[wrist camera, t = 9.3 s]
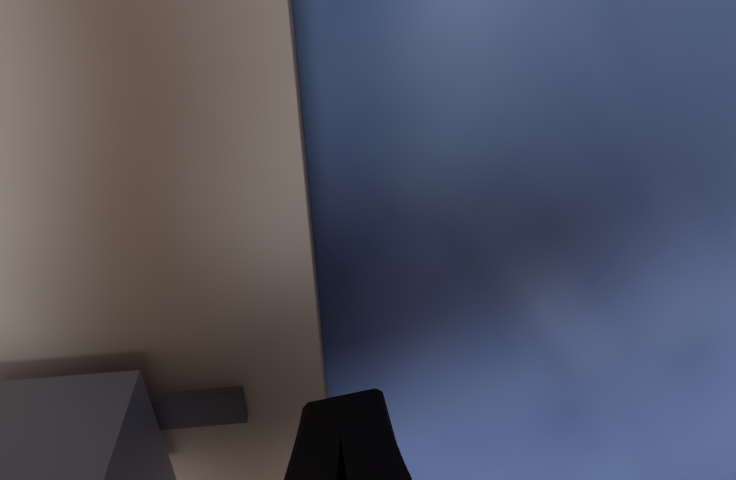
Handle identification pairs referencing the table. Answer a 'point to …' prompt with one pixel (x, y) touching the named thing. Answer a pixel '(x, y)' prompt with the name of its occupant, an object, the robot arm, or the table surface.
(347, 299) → the table surface
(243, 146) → the console
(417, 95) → the table surface
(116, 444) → the fader
